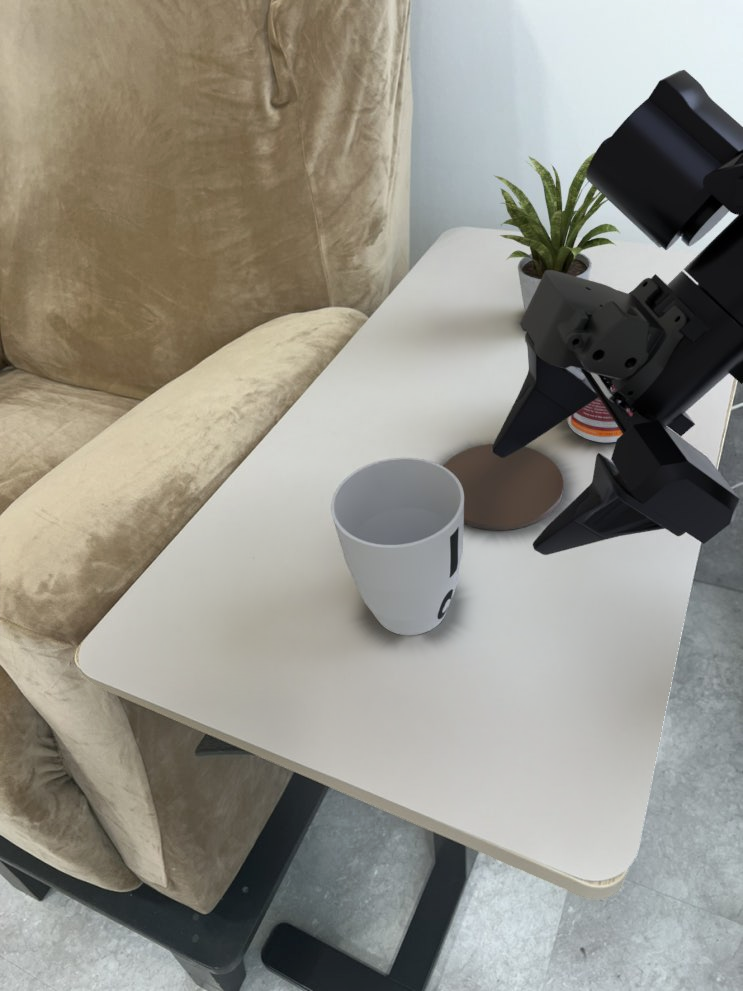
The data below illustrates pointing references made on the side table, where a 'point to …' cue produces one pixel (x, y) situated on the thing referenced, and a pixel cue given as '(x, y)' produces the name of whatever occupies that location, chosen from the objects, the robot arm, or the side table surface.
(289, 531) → the side table surface
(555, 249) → the house plant
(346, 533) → the cup
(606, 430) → the pill bottle
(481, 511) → the coaster
